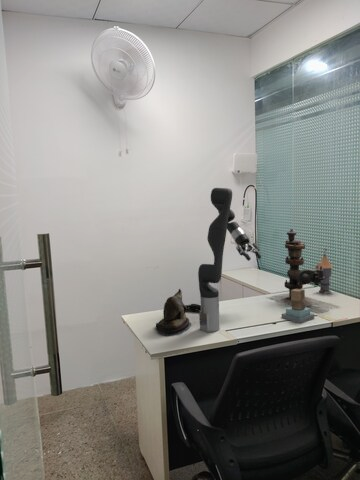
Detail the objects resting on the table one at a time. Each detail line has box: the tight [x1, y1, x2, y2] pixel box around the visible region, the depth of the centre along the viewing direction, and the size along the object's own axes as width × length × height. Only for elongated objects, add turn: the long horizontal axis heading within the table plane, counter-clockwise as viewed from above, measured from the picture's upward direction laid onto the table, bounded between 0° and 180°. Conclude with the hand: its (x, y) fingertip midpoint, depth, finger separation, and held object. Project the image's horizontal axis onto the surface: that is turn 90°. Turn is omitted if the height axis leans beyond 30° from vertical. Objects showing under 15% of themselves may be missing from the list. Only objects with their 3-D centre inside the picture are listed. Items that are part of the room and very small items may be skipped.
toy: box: [184, 303, 201, 312], centre depth 226 cm, size 8×6×30 cm
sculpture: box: [155, 288, 192, 337], centre depth 195 cm, size 23×18×20 cm
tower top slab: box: [285, 306, 311, 318], centre depth 205 cm, size 9×9×3 cm
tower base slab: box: [281, 312, 315, 324], centre depth 206 cm, size 12×12×3 cm
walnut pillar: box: [290, 288, 306, 310], centre depth 205 cm, size 5×5×10 cm
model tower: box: [314, 248, 334, 295], centre depth 253 cm, size 10×11×30 cm
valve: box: [266, 228, 341, 314], centre depth 233 cm, size 42×20×45 cm, turn 31°
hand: (254, 258), depth 216 cm, fingers open, 8 cm apart
